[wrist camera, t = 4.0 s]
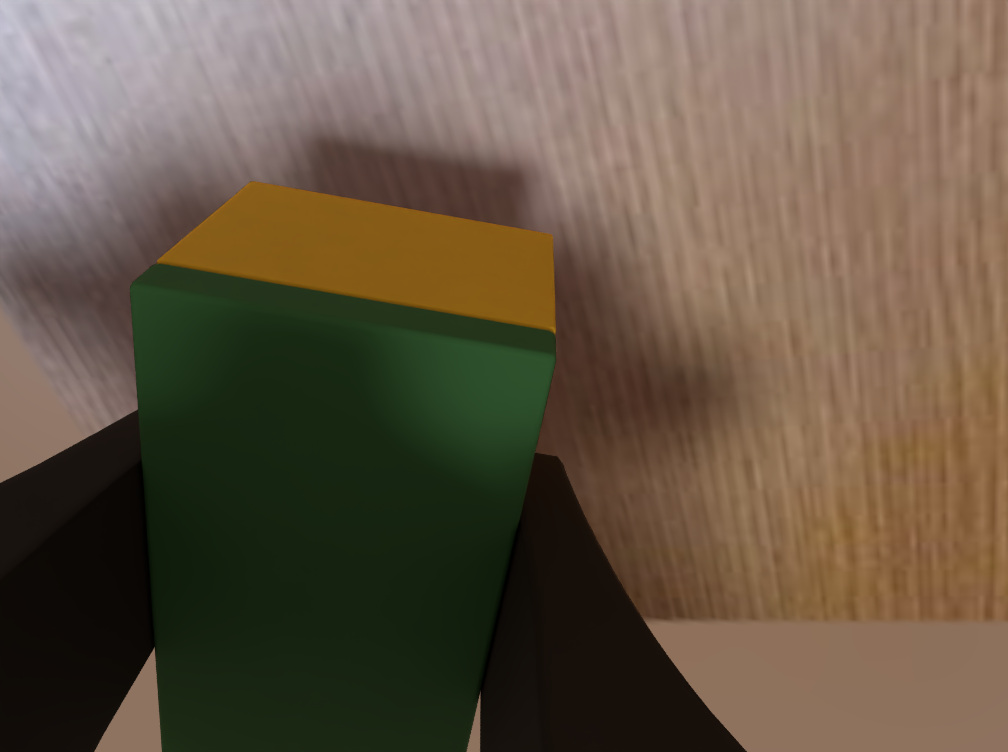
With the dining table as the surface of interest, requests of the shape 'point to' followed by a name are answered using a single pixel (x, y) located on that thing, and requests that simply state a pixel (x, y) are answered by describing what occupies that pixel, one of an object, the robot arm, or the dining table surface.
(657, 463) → the dining table surface
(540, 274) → the sponge
